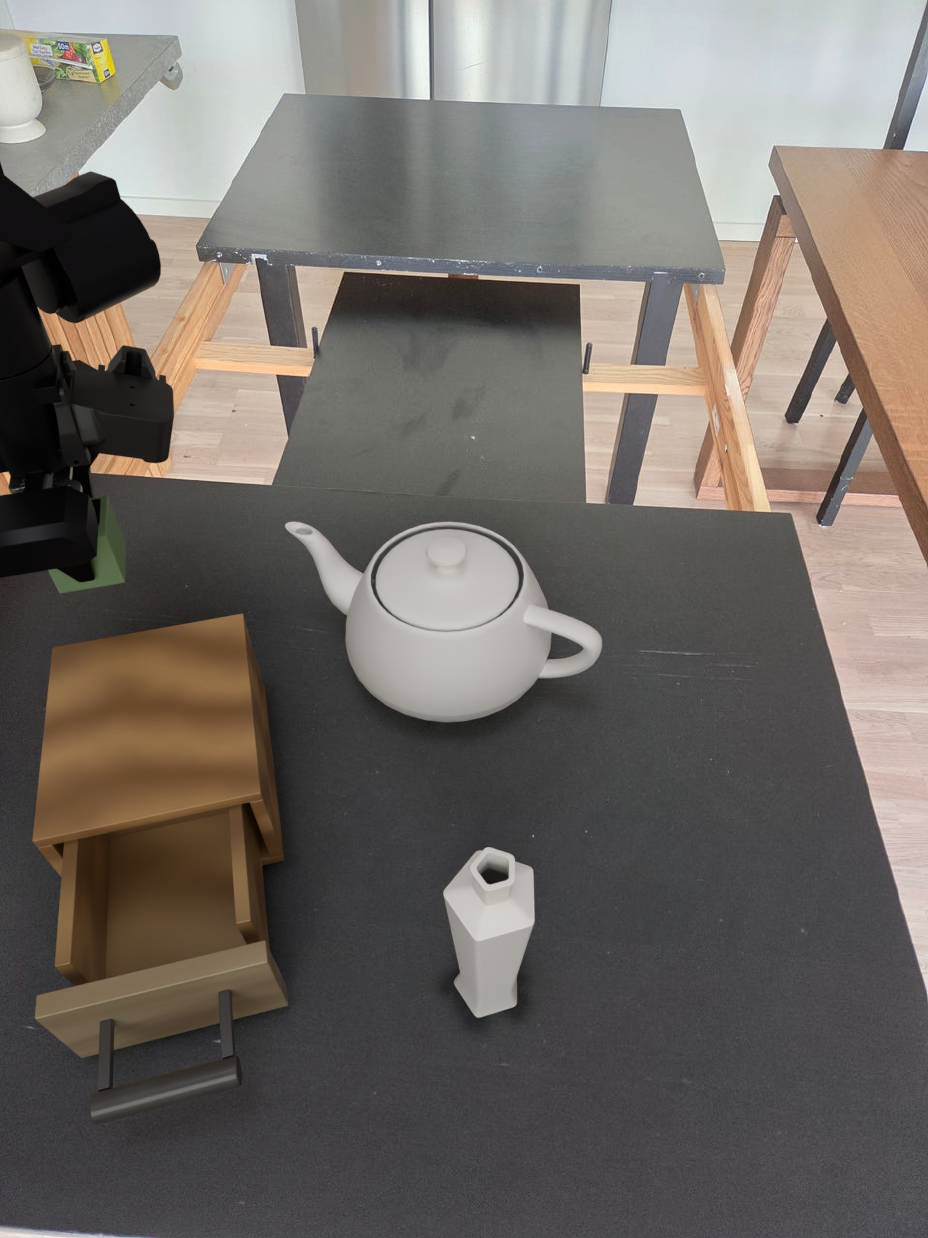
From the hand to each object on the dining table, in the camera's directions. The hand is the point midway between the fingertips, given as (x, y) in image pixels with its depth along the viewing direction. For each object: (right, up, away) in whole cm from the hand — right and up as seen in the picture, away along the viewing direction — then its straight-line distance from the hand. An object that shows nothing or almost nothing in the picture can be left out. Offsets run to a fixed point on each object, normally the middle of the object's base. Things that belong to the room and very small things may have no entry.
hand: (88, 557), depth 59 cm
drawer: (+10, -24, -9) cm, 28 cm away
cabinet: (+7, -16, 0) cm, 17 cm away
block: (0, -1, +1) cm, 1 cm away
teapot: (+24, -8, +8) cm, 27 cm away
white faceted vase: (+28, -26, -9) cm, 39 cm away
